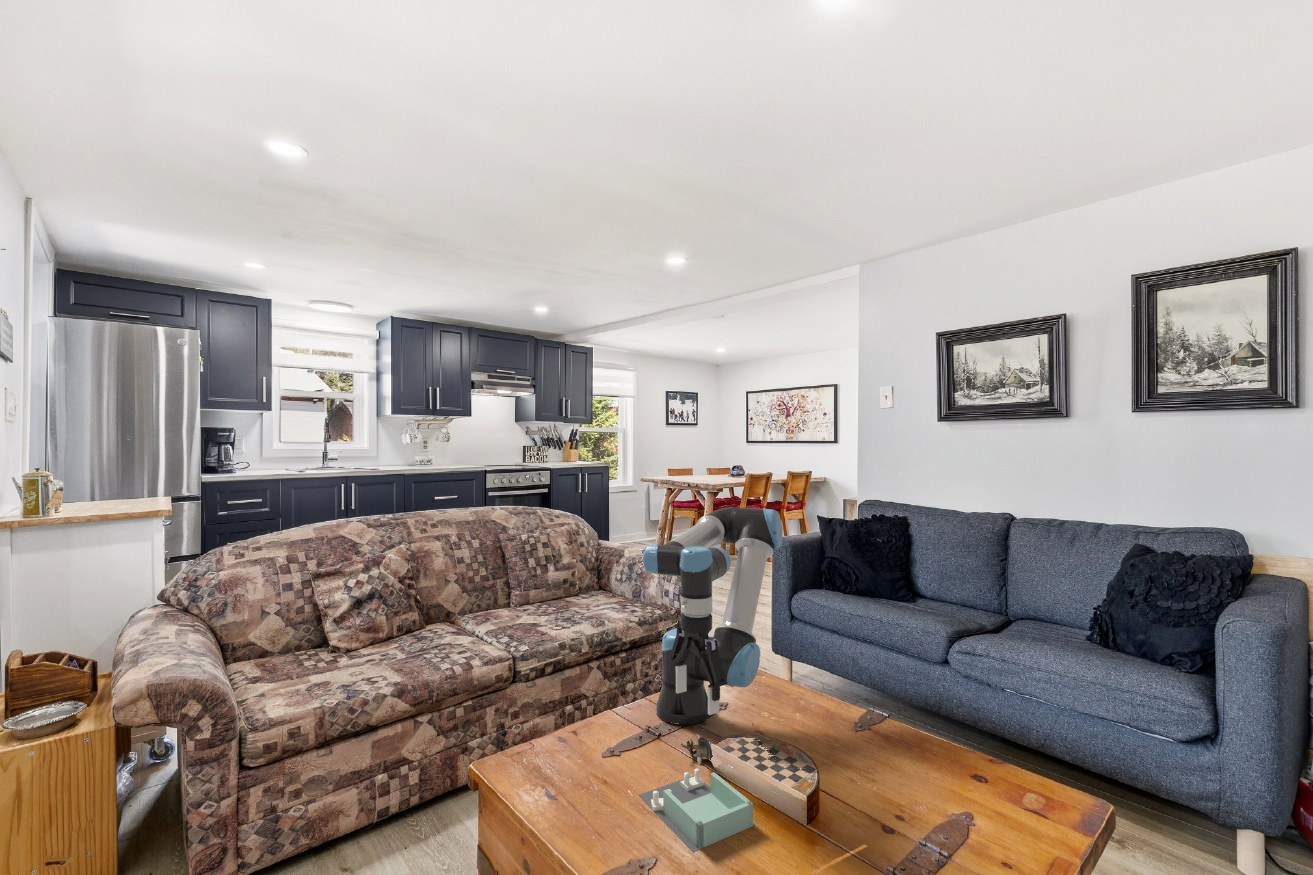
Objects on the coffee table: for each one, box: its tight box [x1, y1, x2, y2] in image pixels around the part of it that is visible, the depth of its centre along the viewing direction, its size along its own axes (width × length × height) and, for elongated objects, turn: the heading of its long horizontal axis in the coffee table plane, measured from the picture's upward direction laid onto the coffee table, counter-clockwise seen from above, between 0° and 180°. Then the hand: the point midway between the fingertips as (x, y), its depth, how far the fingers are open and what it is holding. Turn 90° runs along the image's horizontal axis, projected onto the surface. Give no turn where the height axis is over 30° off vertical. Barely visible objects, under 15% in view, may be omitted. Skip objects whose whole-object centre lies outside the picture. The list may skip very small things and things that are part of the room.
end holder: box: [663, 772, 754, 850], centre depth 124 cm, size 13×13×4 cm
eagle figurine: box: [680, 733, 713, 766], centre depth 146 cm, size 8×7×9 cm
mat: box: [638, 774, 756, 853], centre depth 127 cm, size 15×21×1 cm
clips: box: [651, 768, 705, 812], centre depth 132 cm, size 14×6×3 cm, turn 121°
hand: (696, 702), depth 146 cm, fingers open, 13 cm apart
